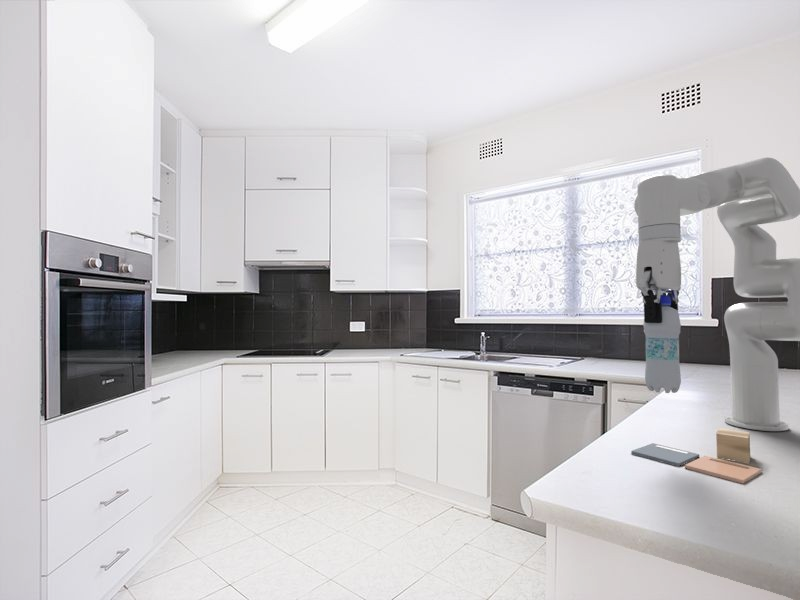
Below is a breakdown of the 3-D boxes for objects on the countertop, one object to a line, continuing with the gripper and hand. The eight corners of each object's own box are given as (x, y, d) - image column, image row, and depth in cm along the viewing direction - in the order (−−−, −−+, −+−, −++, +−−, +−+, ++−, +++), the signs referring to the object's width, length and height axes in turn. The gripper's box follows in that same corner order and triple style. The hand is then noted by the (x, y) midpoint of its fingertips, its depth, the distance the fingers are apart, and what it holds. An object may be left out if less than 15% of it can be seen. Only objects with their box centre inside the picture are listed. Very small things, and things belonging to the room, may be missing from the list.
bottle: (688, 395, 84) (686, 293, 85) (651, 393, 85) (649, 294, 86) (673, 389, 91) (672, 295, 91) (639, 388, 92) (637, 295, 93)
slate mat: (652, 445, 94) (652, 442, 94) (699, 457, 86) (699, 453, 86) (631, 453, 89) (631, 450, 89) (679, 466, 81) (678, 462, 81)
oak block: (719, 452, 90) (719, 428, 90) (750, 457, 86) (749, 432, 87) (717, 458, 86) (716, 433, 86) (749, 464, 83) (748, 438, 83)
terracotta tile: (705, 458, 86) (705, 455, 86) (761, 472, 78) (761, 468, 78) (684, 468, 81) (684, 464, 81) (743, 483, 73) (743, 479, 73)
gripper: (660, 242, 97) (662, 321, 96) (619, 235, 87) (621, 323, 87) (697, 237, 91) (700, 321, 90) (658, 229, 81) (660, 323, 80)
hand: (661, 321), depth 88 cm, fingers closed on bottle, 6 cm apart
